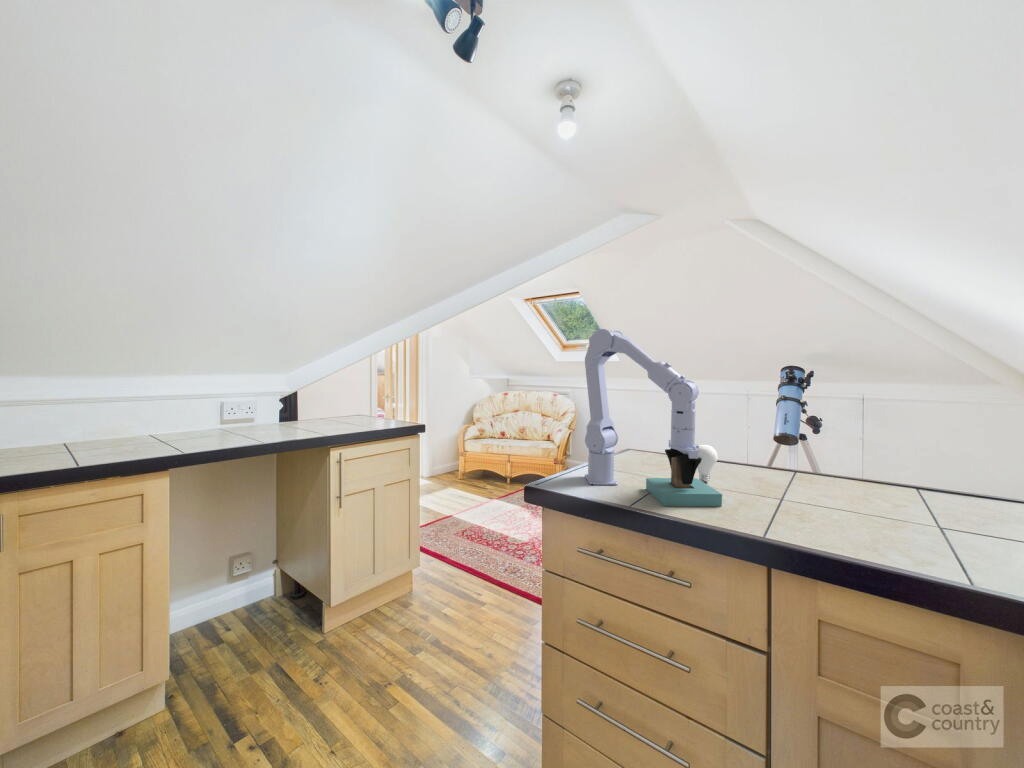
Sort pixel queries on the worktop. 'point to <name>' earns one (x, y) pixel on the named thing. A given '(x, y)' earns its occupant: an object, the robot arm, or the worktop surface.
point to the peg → (676, 475)
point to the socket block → (683, 493)
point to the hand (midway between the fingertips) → (681, 480)
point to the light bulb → (706, 461)
